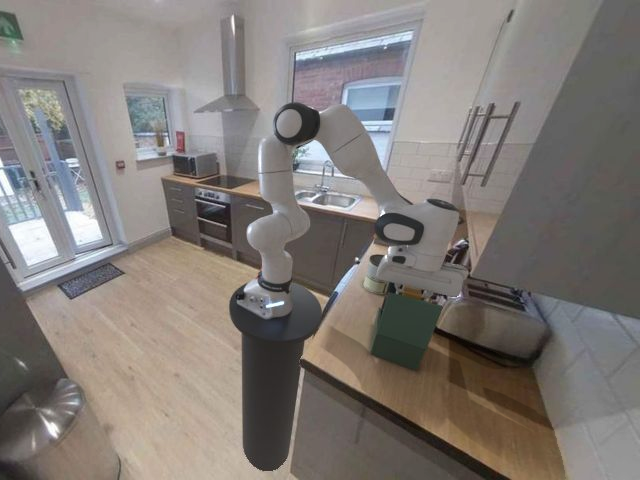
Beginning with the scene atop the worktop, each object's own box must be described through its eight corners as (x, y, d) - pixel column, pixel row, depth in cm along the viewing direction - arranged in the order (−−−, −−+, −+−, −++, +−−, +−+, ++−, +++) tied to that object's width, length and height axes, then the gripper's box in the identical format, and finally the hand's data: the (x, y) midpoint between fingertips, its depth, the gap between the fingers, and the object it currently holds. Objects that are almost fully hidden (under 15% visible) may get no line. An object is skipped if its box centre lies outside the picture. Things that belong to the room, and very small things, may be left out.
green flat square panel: (388, 291, 72) (388, 293, 72) (442, 305, 67) (443, 307, 66) (376, 332, 78) (376, 333, 77) (425, 348, 72) (426, 350, 71)
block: (399, 296, 79) (403, 284, 78) (416, 300, 77) (420, 288, 76) (399, 304, 76) (403, 292, 74) (417, 309, 74) (422, 296, 72)
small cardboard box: (379, 224, 178) (381, 216, 175) (403, 228, 171) (406, 220, 168) (371, 243, 152) (373, 233, 149) (399, 249, 145) (402, 239, 142)
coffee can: (363, 278, 119) (369, 252, 113) (387, 283, 115) (396, 256, 109) (362, 291, 111) (369, 263, 104) (389, 297, 107) (398, 268, 101)
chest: (373, 326, 92) (378, 307, 88) (413, 339, 86) (421, 319, 83) (370, 354, 81) (376, 333, 77) (416, 371, 76) (425, 350, 72)
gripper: (468, 261, 68) (450, 302, 74) (383, 245, 77) (373, 283, 83) (474, 273, 63) (454, 315, 69) (382, 254, 72) (371, 293, 78)
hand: (409, 297), depth 76 cm, fingers closed on block, 4 cm apart
